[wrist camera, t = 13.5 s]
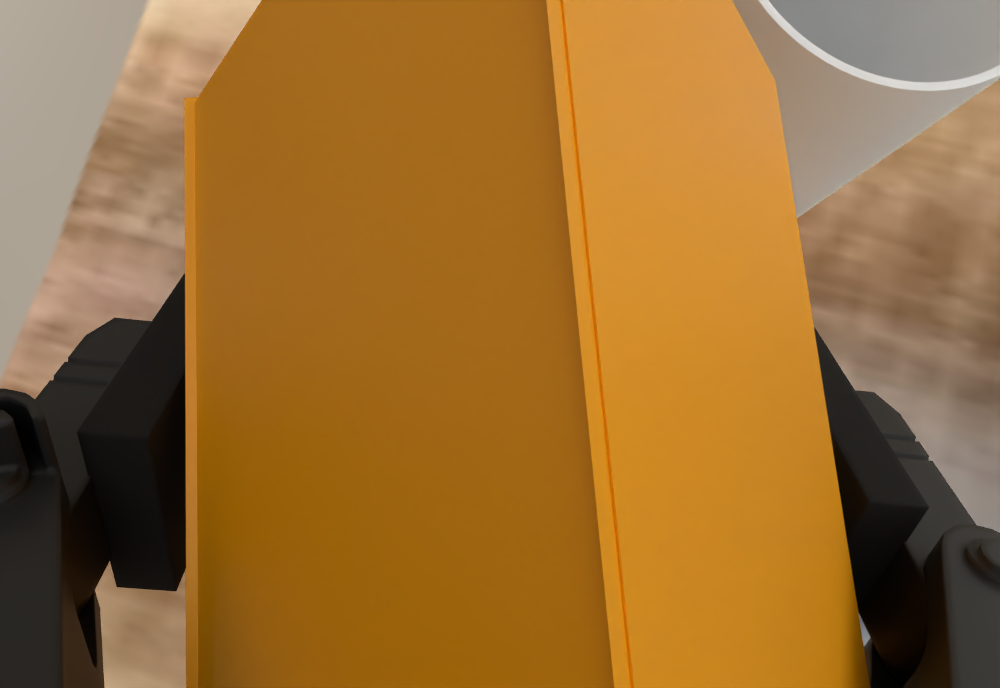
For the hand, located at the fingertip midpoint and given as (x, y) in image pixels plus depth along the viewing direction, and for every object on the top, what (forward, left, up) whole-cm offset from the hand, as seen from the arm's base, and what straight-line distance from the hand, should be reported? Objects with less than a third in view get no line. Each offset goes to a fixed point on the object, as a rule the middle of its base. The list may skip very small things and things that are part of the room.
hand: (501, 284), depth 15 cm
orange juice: (+1, +3, -9) cm, 10 cm away
